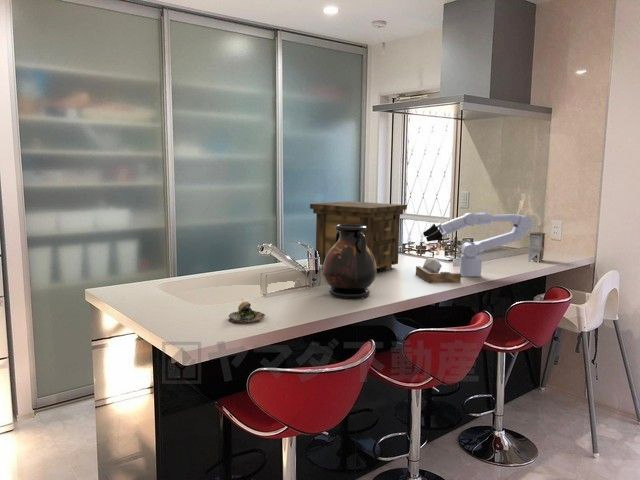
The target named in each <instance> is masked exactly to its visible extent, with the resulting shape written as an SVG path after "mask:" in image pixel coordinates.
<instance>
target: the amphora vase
mask: <svg viewBox="0 0 640 480" xmlns="http://www.w3.org/2000/svg"><path fill="white" fill-rule="evenodd" d="M335 229H337V230H338V232H337V234H336V239H335V244H334V245H333V247H332V248H331V249H330V250H329V251H328V253H327V255H326V257H325V260H324V264H323V269H322V275H323V278H324V280H325V282H326V283H327V284H328V285H329V286H330V288H329V289H328V294H329V295H330V296H333V297H335V298H338V299H343V300H344V299H345V300H358V299H359V300H360V299H364V298H367V297H368V296H369V295H370V293H371V292H370V289H369V287H371V285H372V284H373V283H374V281H375V280H376V278H377V272H378V268H377V267H376V261H375V258H374V255H373V253H372V252H371V250H370V249H369V248H368V247H367V244H366V238H365V236H364V235H363V234H362V232H363V231H364V230H366V229H367V227H366V226H364V225H357V224H340V225H336V226H335Z"/></svg>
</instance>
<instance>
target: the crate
mask: <svg viewBox="0 0 640 480" xmlns="http://www.w3.org/2000/svg"><path fill="white" fill-rule="evenodd" d="M407 206H408V205H407V204H400V203H399V204H396V203H382V202H381V203H380V202H364V201H352V200H351V201H350V200H349V201H336V202H333V201H332V202H319V203H310V204H309V209H310V210H312V211H313V214H316V216H315V217H316V218H315V220H316V225H315V231H316V232H315V251H316V250H317V251H318V254H319V257H320V265H319V266H321V269H322V270H323V264H324V260H325V257H326V255H327V253H328V251H329V250H330V249H331V248H332V247H333V245H334V244H335V239H336V234H337V232H338V230H337V229H335V226H336V225H340V224H357V225H364V226H366V227H367V229H366V230H364V231H363V232H362V234H363V235H364V236H365V238H366V244H367V247H368V248H369V249H370V250H371V252H372V253H373V255H374V258H375V261H376V267H377V269H381V268H385V269H384V270H389V269H388V268H390V269H392V268H393V266H394V265H398V264H399V252H400V251H399V250H400V247H399V246H400V224H401V223H400V221H401V215H404V211H406V210H407Z"/></svg>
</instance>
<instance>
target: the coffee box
mask: <svg viewBox="0 0 640 480" xmlns="http://www.w3.org/2000/svg"><path fill="white" fill-rule="evenodd" d="M545 238H546V233H544V232H537V231H533V232H531V233H529V244H528V245H529V247H528V260H533V261H541V260H542V259H543V260H544V252H545V251H544V250H545ZM541 262H542V261H541Z"/></svg>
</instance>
